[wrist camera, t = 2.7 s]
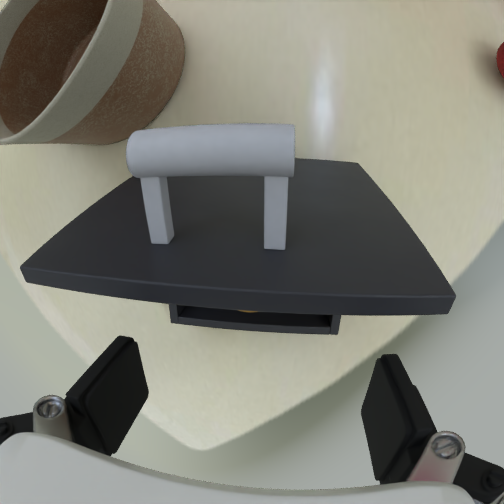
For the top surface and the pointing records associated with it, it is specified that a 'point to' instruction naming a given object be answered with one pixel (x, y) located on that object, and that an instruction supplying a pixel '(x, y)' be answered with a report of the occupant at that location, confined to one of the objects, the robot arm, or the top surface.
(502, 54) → the onion
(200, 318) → the dark grey lidded tray
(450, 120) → the top surface
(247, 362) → the top surface
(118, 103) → the planter
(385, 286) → the lid
